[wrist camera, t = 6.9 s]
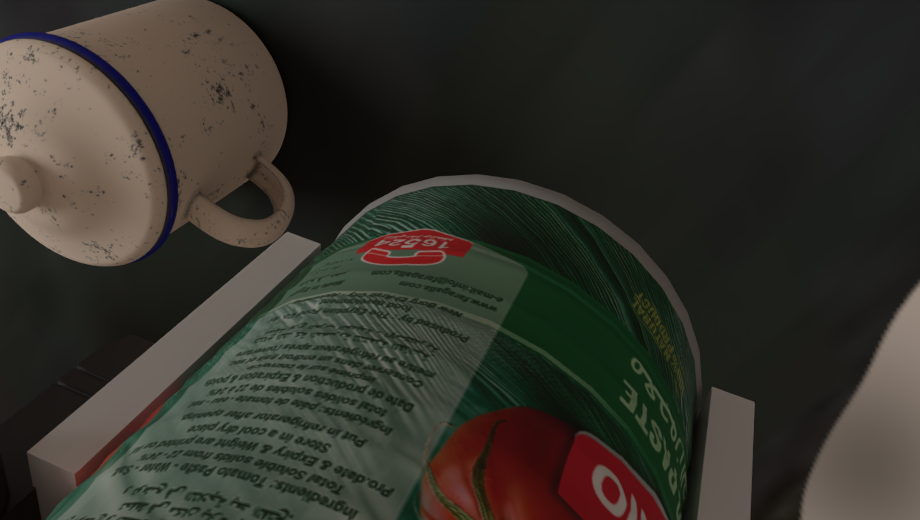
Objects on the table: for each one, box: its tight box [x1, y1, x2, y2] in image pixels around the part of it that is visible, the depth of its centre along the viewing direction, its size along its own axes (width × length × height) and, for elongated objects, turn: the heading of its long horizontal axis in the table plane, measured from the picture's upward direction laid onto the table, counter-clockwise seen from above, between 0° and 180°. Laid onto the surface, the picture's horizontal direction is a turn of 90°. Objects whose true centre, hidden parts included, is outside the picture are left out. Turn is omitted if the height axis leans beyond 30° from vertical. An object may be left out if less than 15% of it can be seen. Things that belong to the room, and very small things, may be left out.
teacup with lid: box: [0, 0, 295, 266], centre depth 31 cm, size 12×9×12 cm
